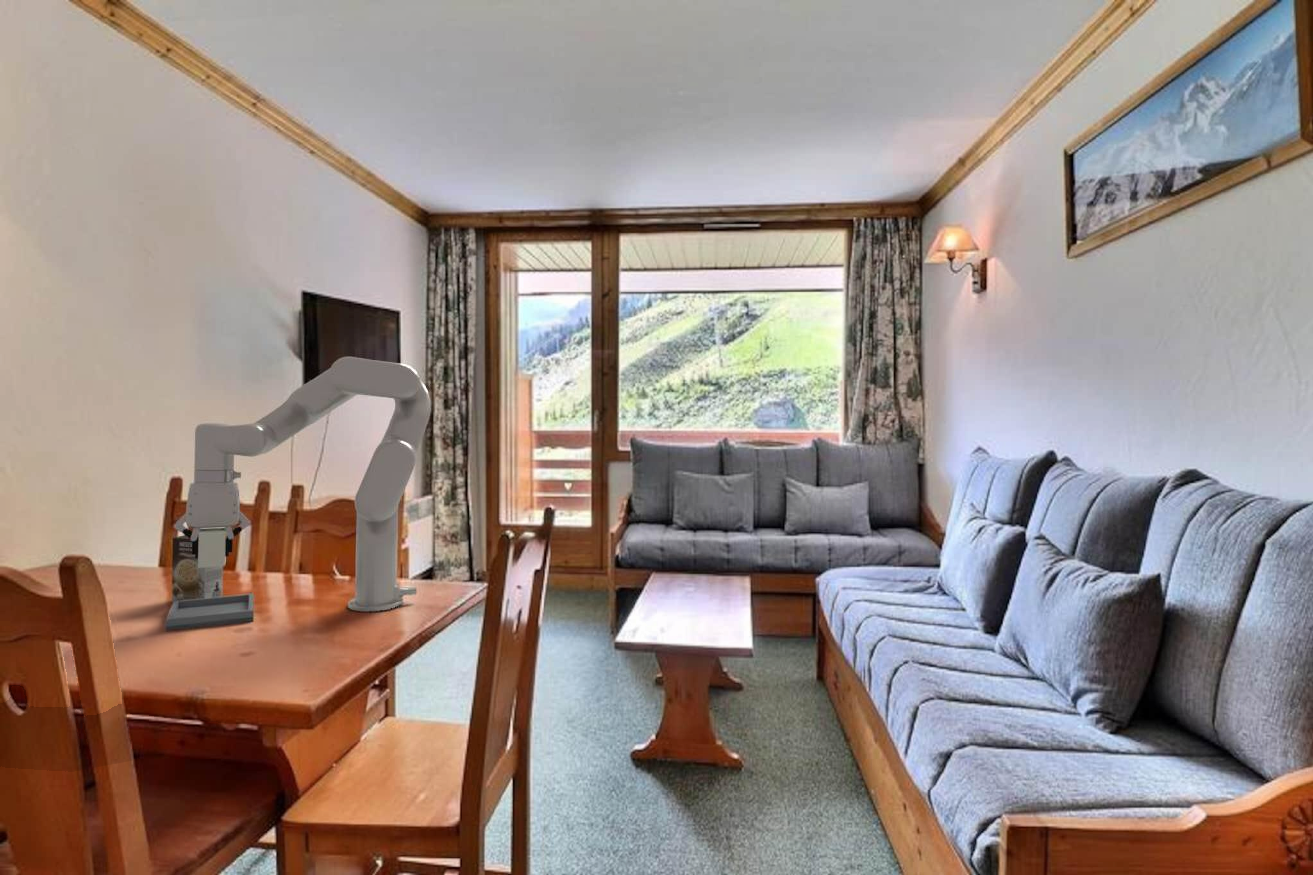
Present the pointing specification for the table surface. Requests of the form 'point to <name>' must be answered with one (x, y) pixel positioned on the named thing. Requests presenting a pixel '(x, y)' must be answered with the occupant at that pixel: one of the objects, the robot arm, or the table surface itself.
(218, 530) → the sage block
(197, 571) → the coffee box
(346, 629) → the table surface
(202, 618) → the tray
